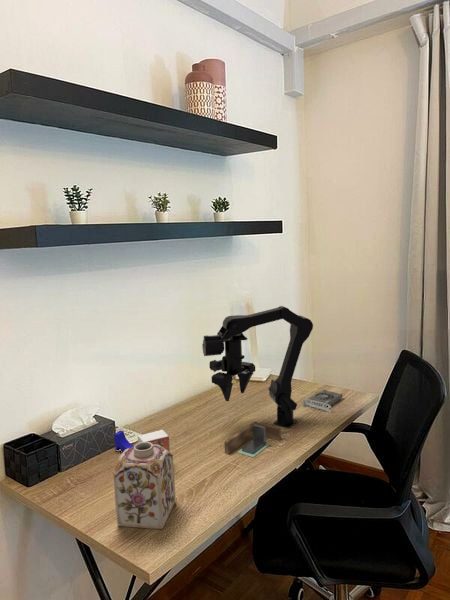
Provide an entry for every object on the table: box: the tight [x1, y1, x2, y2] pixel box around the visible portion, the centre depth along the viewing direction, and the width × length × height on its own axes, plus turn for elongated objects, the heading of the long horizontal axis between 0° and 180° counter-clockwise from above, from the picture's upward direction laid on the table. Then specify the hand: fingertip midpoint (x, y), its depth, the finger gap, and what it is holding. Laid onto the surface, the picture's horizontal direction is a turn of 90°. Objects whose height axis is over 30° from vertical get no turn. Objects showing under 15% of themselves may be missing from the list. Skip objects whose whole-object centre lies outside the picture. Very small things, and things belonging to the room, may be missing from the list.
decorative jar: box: [112, 442, 176, 530], centre depth 112 cm, size 12×12×18 cm
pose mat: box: [236, 442, 271, 459], centre depth 146 cm, size 10×6×1 cm, turn 144°
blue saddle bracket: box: [114, 430, 135, 453], centre depth 147 cm, size 12×4×6 cm, turn 67°
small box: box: [137, 429, 171, 453], centre depth 135 cm, size 8×6×10 cm
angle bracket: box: [241, 424, 267, 454], centre depth 145 cm, size 8×4×6 cm, turn 144°
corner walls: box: [224, 421, 282, 455], centre depth 147 cm, size 18×10×4 cm, turn 144°
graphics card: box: [302, 389, 343, 413], centre depth 182 cm, size 17×4×12 cm
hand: (234, 396), depth 159 cm, fingers open, 9 cm apart
